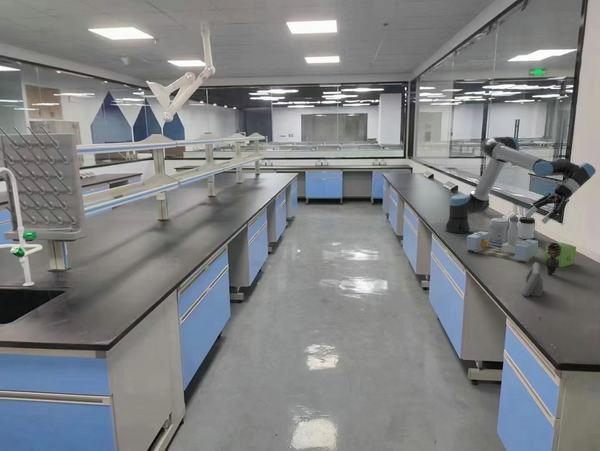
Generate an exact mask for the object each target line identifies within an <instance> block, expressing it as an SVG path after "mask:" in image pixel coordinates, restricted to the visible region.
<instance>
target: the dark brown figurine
mask: <svg viewBox="0 0 600 451" xmlns="http://www.w3.org/2000/svg"><path fill="white" fill-rule="evenodd" d="M549 244H550V245H549ZM549 244H547V245H548V246H547V245H546V246H547V247H548V249H547V250H548V252H547V253H548V254H549V255H550V258H547V259H546V263H545V266H546V268H547V272H546V273H547V274H548V275H550V276H551V275H552V274H555V273H556V272H555V271H556V269H557V268H559V267H558V266H559V260H558V259H556V257H558V256H559V255H560V252H561V249H562V247H561V246H560V245H559V244H557V242H549Z"/></svg>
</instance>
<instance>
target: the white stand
mask: <svg viewBox="0 0 600 451" xmlns="http://www.w3.org/2000/svg"><path fill="white" fill-rule="evenodd" d="M518 222H519V216H516V215H512V216H510V217H509V226H508V236H507V243H504V244H502V246H501V248H502V249H501V251H504V252H509V253H514V254H515V247H516V245H517V244H518V243H517V244H516V242H517V241H516V240H517V231H518Z"/></svg>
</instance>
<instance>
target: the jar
mask: <svg viewBox="0 0 600 451" xmlns="http://www.w3.org/2000/svg"><path fill="white" fill-rule="evenodd" d="M535 227H536V219H535V217H529V218H527V217H526V216H521V217H519V219H518V224H517V233H516V238H519V239H525V240H528V239H530V240H533V239H534V236H535Z"/></svg>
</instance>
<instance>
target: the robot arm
mask: <svg viewBox="0 0 600 451" xmlns="http://www.w3.org/2000/svg"><path fill="white" fill-rule="evenodd" d="M482 147H483V148H482V150H483V153H484V154H485V155H486V156H487V157H489V158H490V159H489V161H488V163H487V165H486V167H485V169H484V172H483V174H482V175H481V177H480V180H479V181H478V184H477V185H476V187H475V188H474V190H471V192H470V193H469V195H468V194H456V195H455V194H454V195H453V196H451V197H450V200H449V211H448V212H449V213H448V214H449V215H448V220H447V222H446V225H445V229H444V230H445V231H446V232H448V233H453V234H454V233H455V234H468V233H470V232H471V227H470V222H469V215H472V214H473V215H475V214H481V213H484V212H486V211H487V210H488V209H489V207H490V205H491V204H490V197H489V194H490V192H491V190H492V188H493V187H494V185H495V183H496V181H497V179H498V177H499V175H500V173H501V172H502V170H503V167H504V166H505V164H507V163H508V164H512V165H514V166H517V167H520V168H523V169H525V170H527V171H530V172H533V173H534V175H535V176H536V177H542V178H545V177H555V176H562V177H564V178H565V179H564V180H563V181H562V182H561V183H560V184H559V185H558V186H556V187H555V189H554V193H552V194H551V192H548V193H546V194H545V195H544V196H542V197H540V198H539V199H537V200H536V201H533V202H532V204H531V205H532V207H531V208H530V209H529V210H528V211H527V212H526V213H524V217H527V218H529V217H530V218H532V216H533V215H534V214H535V213H536V212H537V211H538V209H540V208H542V207H544V206H547V205H552V204H554V205H553V209H551V210H550V211H549V212H548V213H547V214H546V215H544V216H543V217H542V218H541V219H540V221H541V222H542V223H543V224H544V225H546V224H547V223H548V222H549V221H550V220H551V219H553V218H554V217H555V216H556V215H561V214H562V213H563V211H564V210H565V208H566V206H567V204H568V203H569V201H570V197H572V196H573V194H575V193H576V192H577V191H578V190H579V189H580V188H581V187H583V185H584V184H586V182H588V181H589V180H590V179H591V178H592V177H594V175H595V174H596V169H595V167H594V166H593V165H592V164H590V163H589V162H583V163H581V164H580V165H578V164H576V163H573V162H571V161H568V160H567V159H564V158H561V157H556V158H555V159H553V160H547V159H543V158H541V157H538V156H535V155H532V154H530V153H526V152H524V151H521V150H520V143H519V141H518V139H516V138H515V137H512V136H493V137H489V138H488V139H486V140H485V142H484V144H483V146H482Z"/></svg>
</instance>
